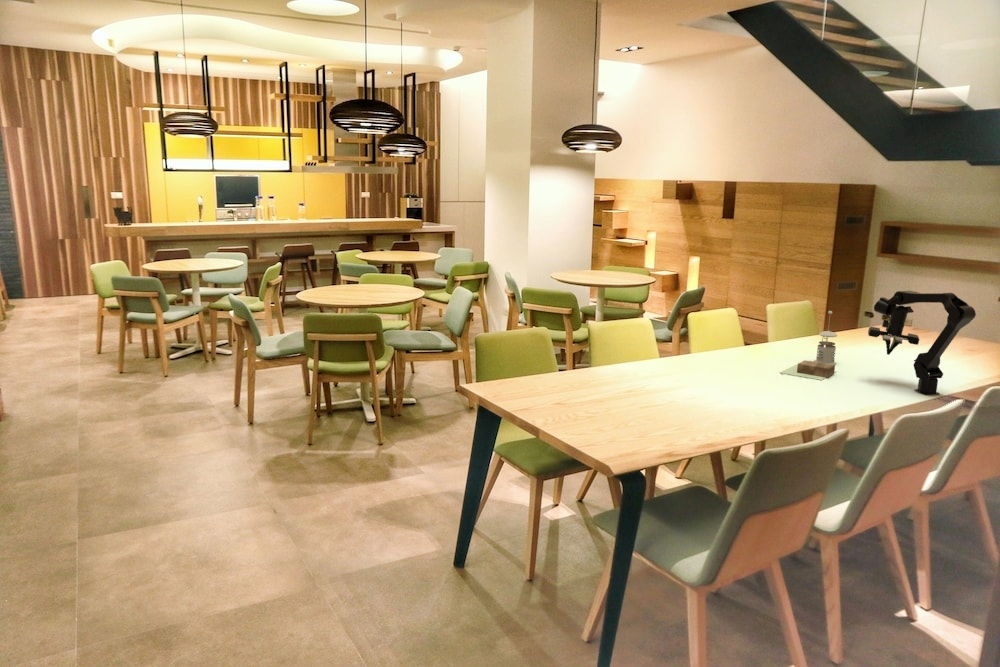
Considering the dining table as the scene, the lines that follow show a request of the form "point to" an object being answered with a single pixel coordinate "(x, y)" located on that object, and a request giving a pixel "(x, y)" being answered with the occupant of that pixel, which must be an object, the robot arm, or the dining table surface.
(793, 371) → the mat
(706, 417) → the dining table surface
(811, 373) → the slab
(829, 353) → the french press
